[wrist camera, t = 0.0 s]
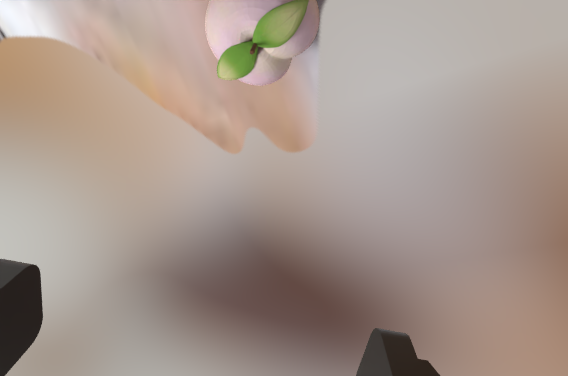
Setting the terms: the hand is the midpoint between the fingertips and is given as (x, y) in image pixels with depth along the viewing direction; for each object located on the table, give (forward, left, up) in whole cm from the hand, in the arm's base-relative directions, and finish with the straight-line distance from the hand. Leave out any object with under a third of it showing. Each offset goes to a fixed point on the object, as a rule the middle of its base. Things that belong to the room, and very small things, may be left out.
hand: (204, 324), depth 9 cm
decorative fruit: (0, -4, -32) cm, 32 cm away
